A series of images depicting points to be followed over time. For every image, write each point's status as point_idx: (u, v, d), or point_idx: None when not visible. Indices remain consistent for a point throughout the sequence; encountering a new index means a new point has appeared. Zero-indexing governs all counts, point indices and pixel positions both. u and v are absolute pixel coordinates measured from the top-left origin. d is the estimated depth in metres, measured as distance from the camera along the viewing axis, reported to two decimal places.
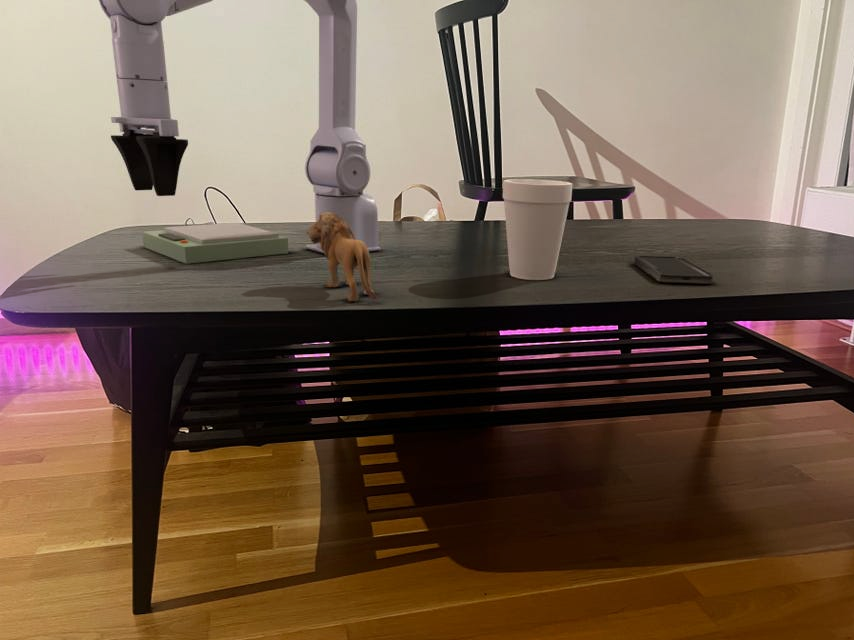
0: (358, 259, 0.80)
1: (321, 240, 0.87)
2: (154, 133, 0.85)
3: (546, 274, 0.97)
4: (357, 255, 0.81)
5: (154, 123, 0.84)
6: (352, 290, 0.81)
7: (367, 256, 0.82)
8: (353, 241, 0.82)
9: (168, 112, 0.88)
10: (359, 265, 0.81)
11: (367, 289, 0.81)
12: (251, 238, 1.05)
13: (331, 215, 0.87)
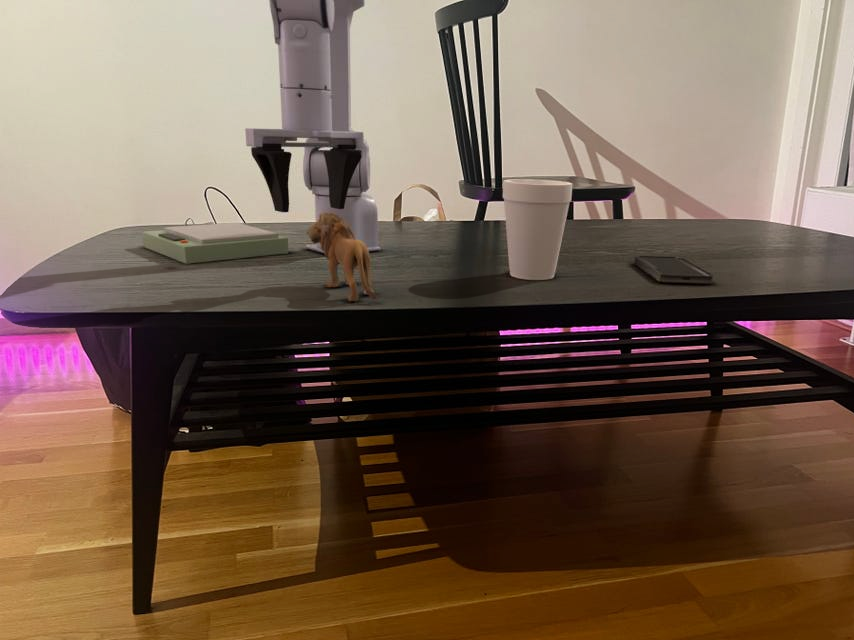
0: (358, 259, 0.80)
1: (321, 240, 0.87)
2: (344, 145, 0.85)
3: (546, 274, 0.97)
4: (357, 255, 0.81)
5: (354, 136, 0.85)
6: (352, 290, 0.81)
7: (367, 256, 0.82)
8: (353, 241, 0.82)
9: None
10: (359, 265, 0.81)
11: (367, 289, 0.81)
12: (251, 238, 1.05)
13: (331, 215, 0.87)
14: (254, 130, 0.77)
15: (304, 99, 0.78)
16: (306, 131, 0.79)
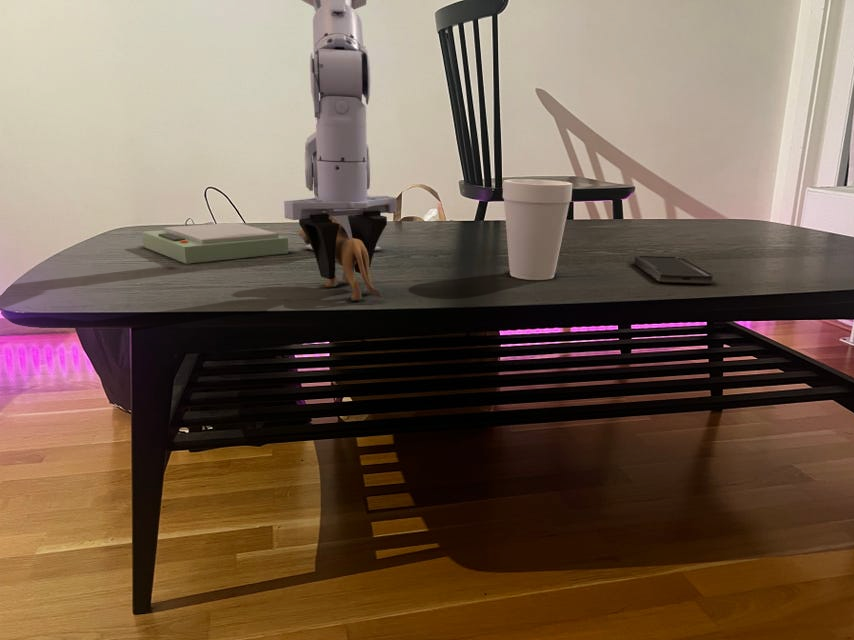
0: (358, 258, 0.81)
1: None
2: (369, 212, 0.85)
3: (546, 274, 0.97)
4: (356, 254, 0.81)
5: (387, 202, 0.86)
6: (355, 289, 0.81)
7: (366, 254, 0.82)
8: (350, 240, 0.82)
9: None
10: (359, 264, 0.81)
11: (370, 287, 0.81)
12: (251, 238, 1.05)
13: None
14: (293, 204, 0.78)
15: (342, 172, 0.80)
16: (343, 202, 0.80)
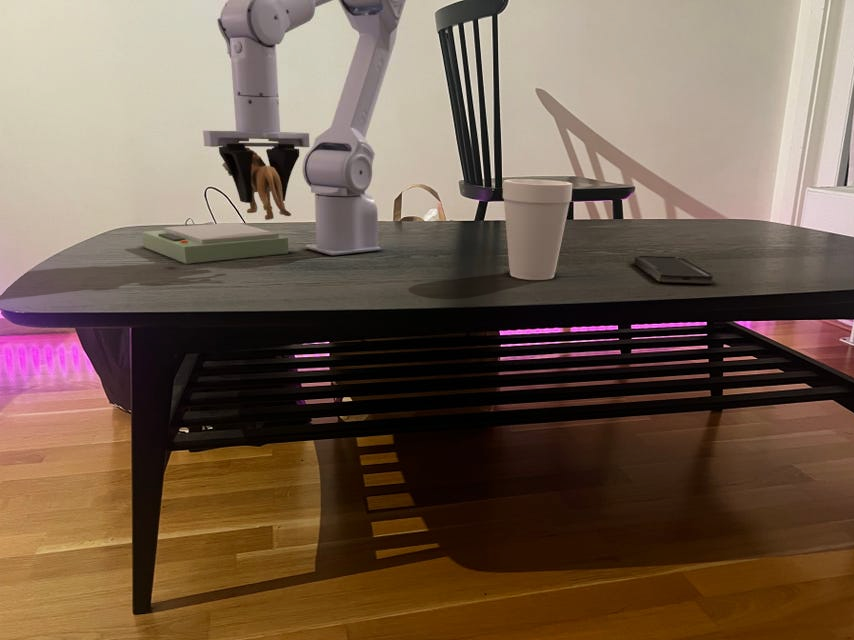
0: (269, 182, 0.92)
1: None
2: (283, 145, 0.97)
3: (546, 274, 0.97)
4: (268, 178, 0.92)
5: (300, 136, 0.98)
6: (267, 210, 0.92)
7: (278, 179, 0.93)
8: (263, 167, 0.93)
9: None
10: (271, 187, 0.92)
11: (280, 208, 0.93)
12: (251, 238, 1.05)
13: None
14: (210, 132, 0.89)
15: (254, 105, 0.91)
16: (256, 132, 0.92)
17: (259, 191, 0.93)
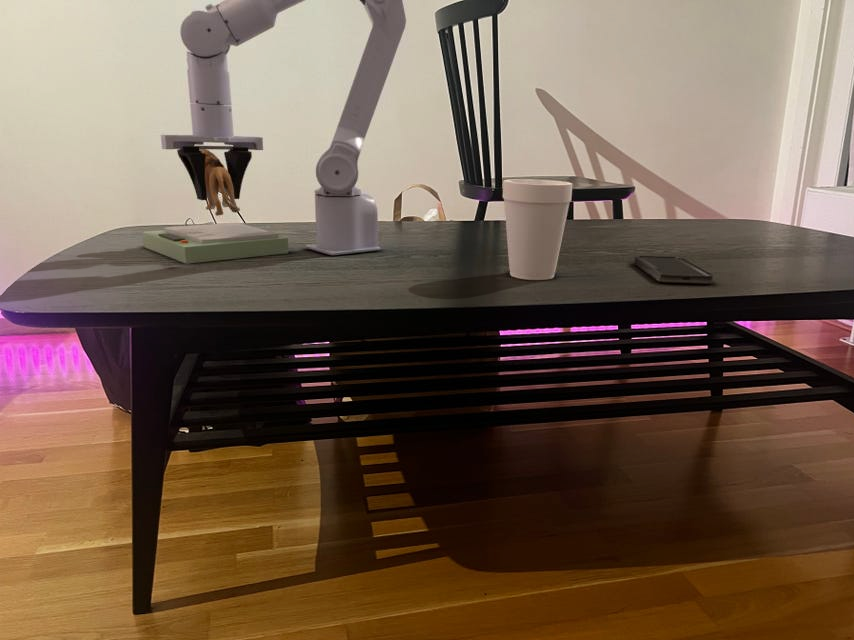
0: (219, 181, 1.01)
1: None
2: (237, 148, 1.06)
3: (546, 274, 0.97)
4: (218, 178, 1.01)
5: (253, 140, 1.07)
6: (217, 206, 1.02)
7: (228, 179, 1.03)
8: (215, 167, 1.03)
9: None
10: (220, 186, 1.01)
11: (229, 205, 1.02)
12: (251, 238, 1.05)
13: (203, 150, 1.08)
14: (166, 136, 0.99)
15: (206, 112, 1.00)
16: (209, 137, 1.01)
17: (211, 189, 1.02)
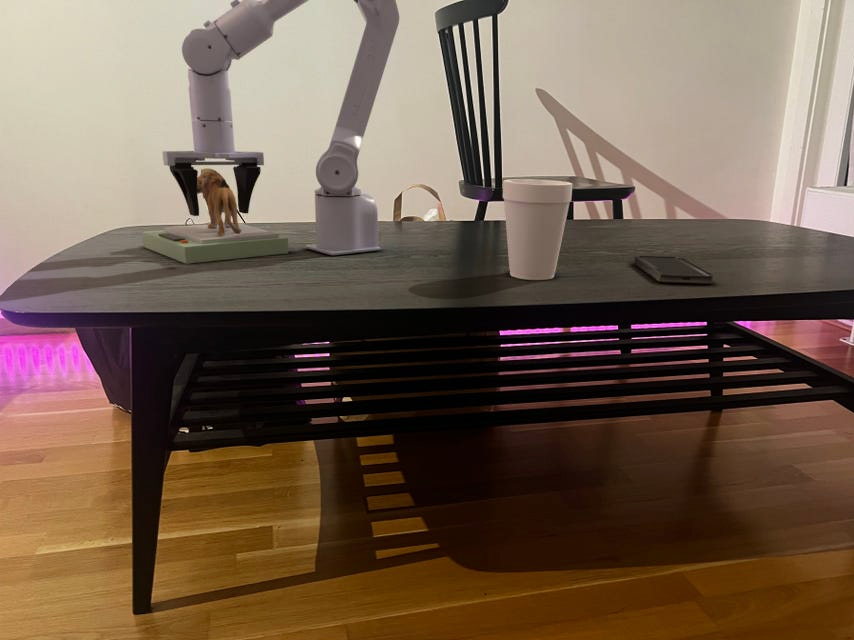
0: (224, 202, 1.03)
1: (202, 190, 1.09)
2: (246, 163, 1.08)
3: (546, 274, 0.97)
4: (223, 199, 1.03)
5: (254, 156, 1.08)
6: (219, 226, 1.03)
7: (233, 201, 1.04)
8: (221, 188, 1.04)
9: None
10: (224, 206, 1.03)
11: (231, 225, 1.03)
12: (251, 238, 1.05)
13: (210, 170, 1.09)
14: (167, 153, 1.00)
15: (207, 128, 1.01)
16: (210, 153, 1.02)
17: (215, 209, 1.03)
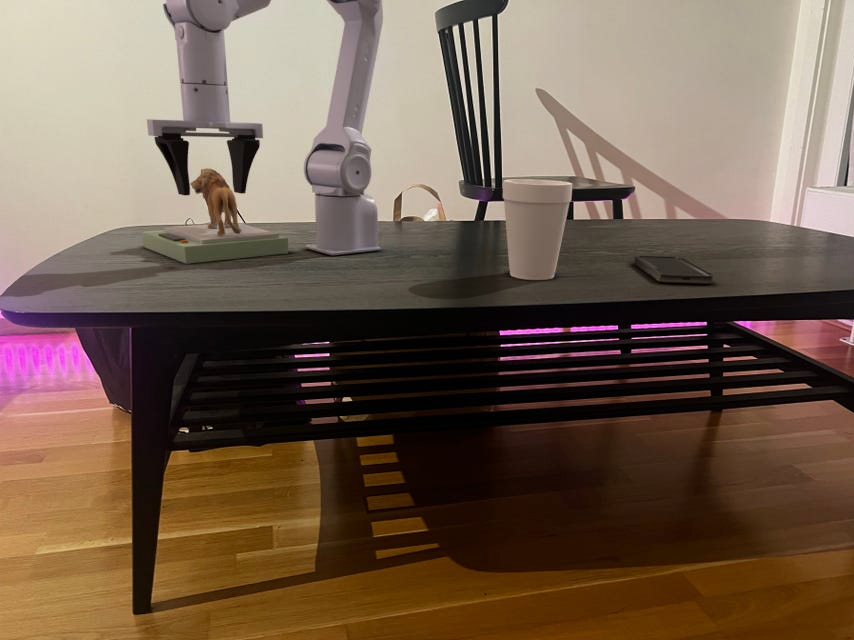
0: (224, 202, 1.03)
1: (202, 190, 1.09)
2: (243, 135, 0.94)
3: (546, 274, 0.97)
4: (223, 199, 1.03)
5: (252, 127, 0.94)
6: (219, 226, 1.03)
7: (233, 201, 1.04)
8: (221, 188, 1.04)
9: None
10: (224, 206, 1.03)
11: (231, 225, 1.03)
12: (251, 238, 1.05)
13: (210, 170, 1.09)
14: (153, 121, 0.86)
15: (200, 93, 0.87)
16: (203, 122, 0.88)
17: (214, 209, 1.03)
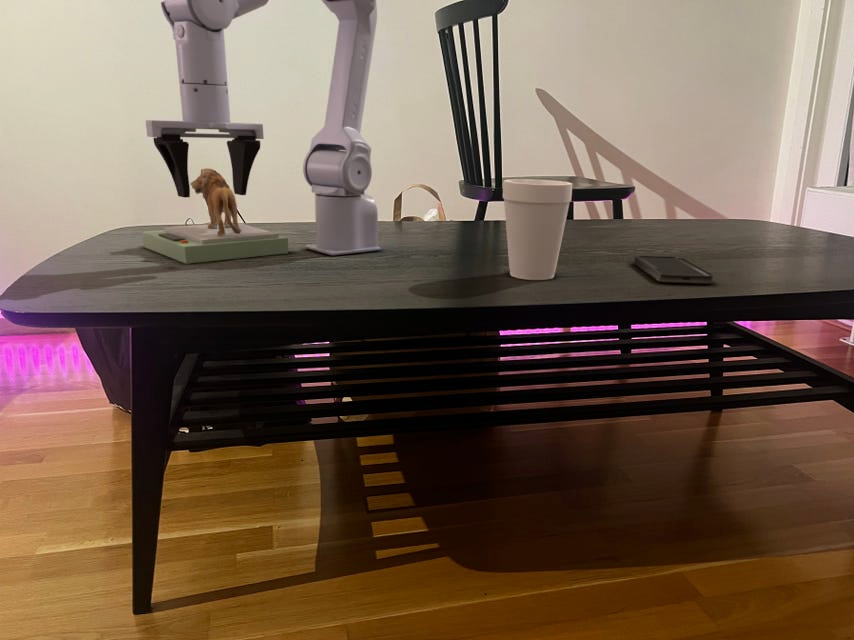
0: (224, 202, 1.03)
1: (202, 190, 1.09)
2: (244, 136, 0.92)
3: (546, 274, 0.97)
4: (223, 199, 1.03)
5: (253, 127, 0.93)
6: (219, 226, 1.03)
7: (233, 201, 1.04)
8: (221, 188, 1.04)
9: None
10: (224, 206, 1.03)
11: (231, 225, 1.03)
12: (251, 238, 1.05)
13: (210, 170, 1.09)
14: (152, 122, 0.84)
15: (200, 93, 0.86)
16: (203, 122, 0.87)
17: (214, 209, 1.03)
